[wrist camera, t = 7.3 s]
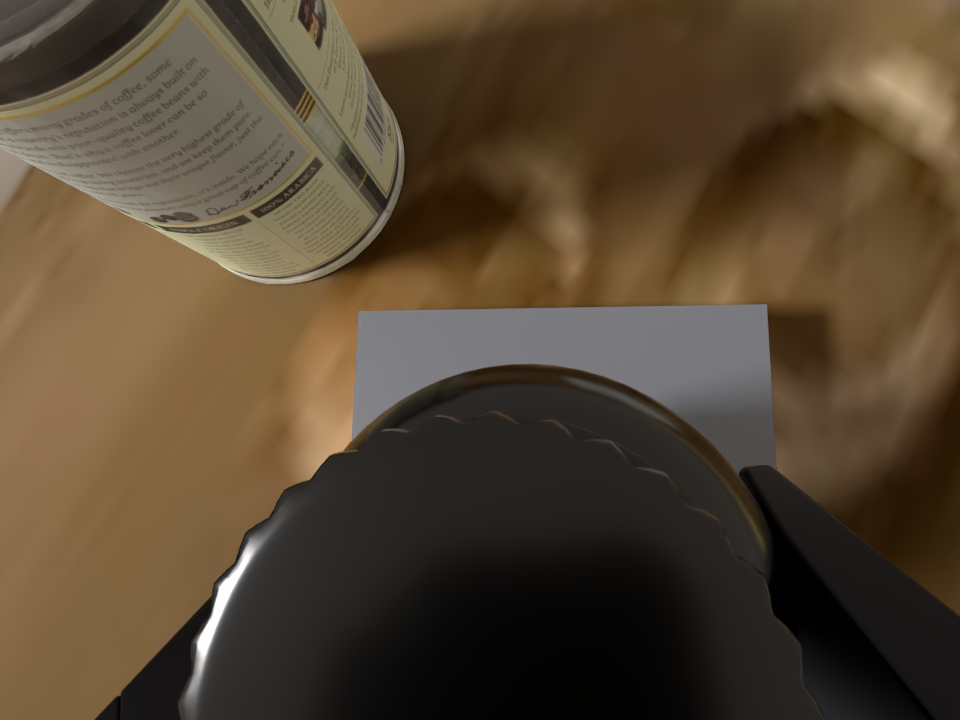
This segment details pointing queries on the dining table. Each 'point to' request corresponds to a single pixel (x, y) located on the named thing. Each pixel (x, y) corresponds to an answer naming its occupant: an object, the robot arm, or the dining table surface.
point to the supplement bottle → (508, 571)
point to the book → (589, 360)
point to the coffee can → (208, 124)
